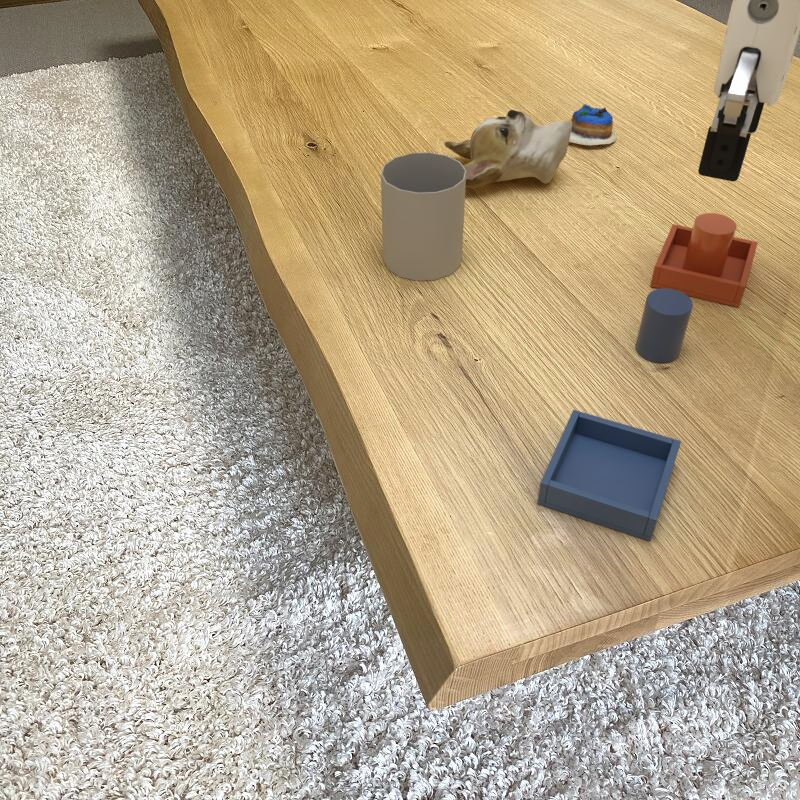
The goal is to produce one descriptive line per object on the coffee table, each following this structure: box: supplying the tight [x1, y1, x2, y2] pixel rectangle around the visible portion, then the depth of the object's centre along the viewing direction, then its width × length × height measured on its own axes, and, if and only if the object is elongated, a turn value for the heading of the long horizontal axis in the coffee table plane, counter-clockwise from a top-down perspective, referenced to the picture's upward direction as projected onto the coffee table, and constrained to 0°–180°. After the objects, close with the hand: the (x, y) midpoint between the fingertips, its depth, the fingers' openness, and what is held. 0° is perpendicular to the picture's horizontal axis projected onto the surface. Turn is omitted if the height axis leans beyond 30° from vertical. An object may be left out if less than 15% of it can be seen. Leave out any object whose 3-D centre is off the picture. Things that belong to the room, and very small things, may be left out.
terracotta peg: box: [682, 212, 738, 278], centre depth 84 cm, size 4×4×6 cm
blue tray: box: [536, 409, 682, 542], centre depth 65 cm, size 9×9×2 cm
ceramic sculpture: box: [443, 109, 572, 189], centre depth 99 cm, size 11×9×15 cm
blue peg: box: [634, 288, 694, 364], centre depth 76 cm, size 4×4×6 cm
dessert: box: [568, 103, 617, 146], centre depth 109 cm, size 8×7×6 cm
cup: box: [380, 151, 467, 282], centre depth 86 cm, size 8×8×10 cm
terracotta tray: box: [649, 223, 759, 308], centre depth 85 cm, size 9×9×2 cm
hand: (727, 152), depth 72 cm, fingers open, 9 cm apart
